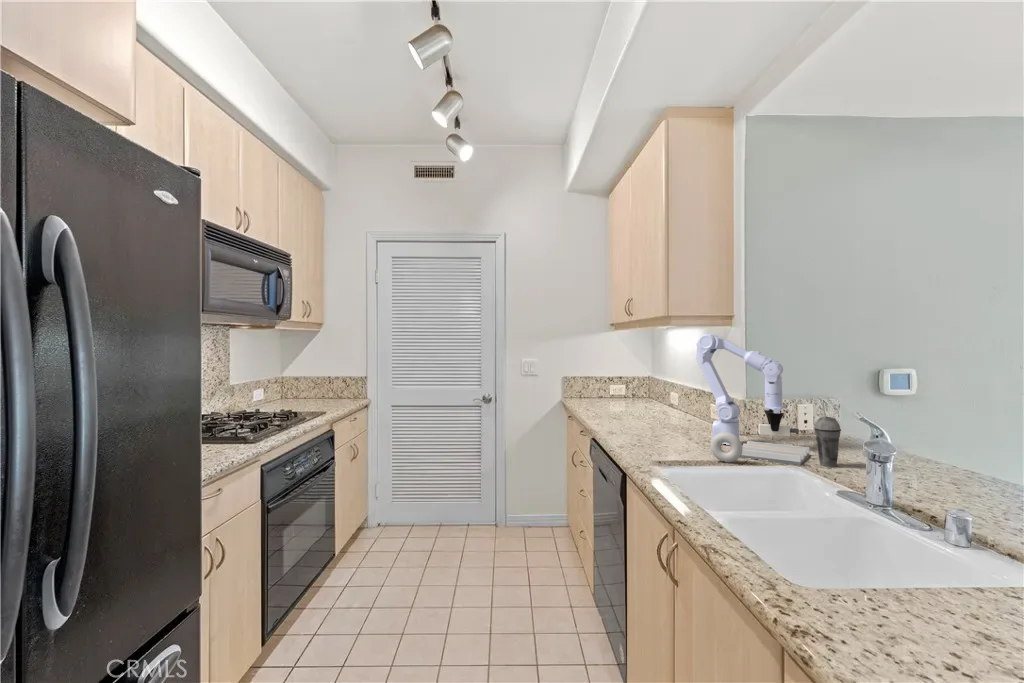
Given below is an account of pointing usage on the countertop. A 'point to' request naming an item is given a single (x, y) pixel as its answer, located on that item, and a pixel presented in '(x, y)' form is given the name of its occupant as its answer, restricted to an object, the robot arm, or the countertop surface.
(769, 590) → the countertop surface
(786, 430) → the white box with cylinder
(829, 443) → the beverage cup
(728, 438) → the donut
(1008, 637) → the countertop surface
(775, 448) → the grey tray
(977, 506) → the countertop surface
